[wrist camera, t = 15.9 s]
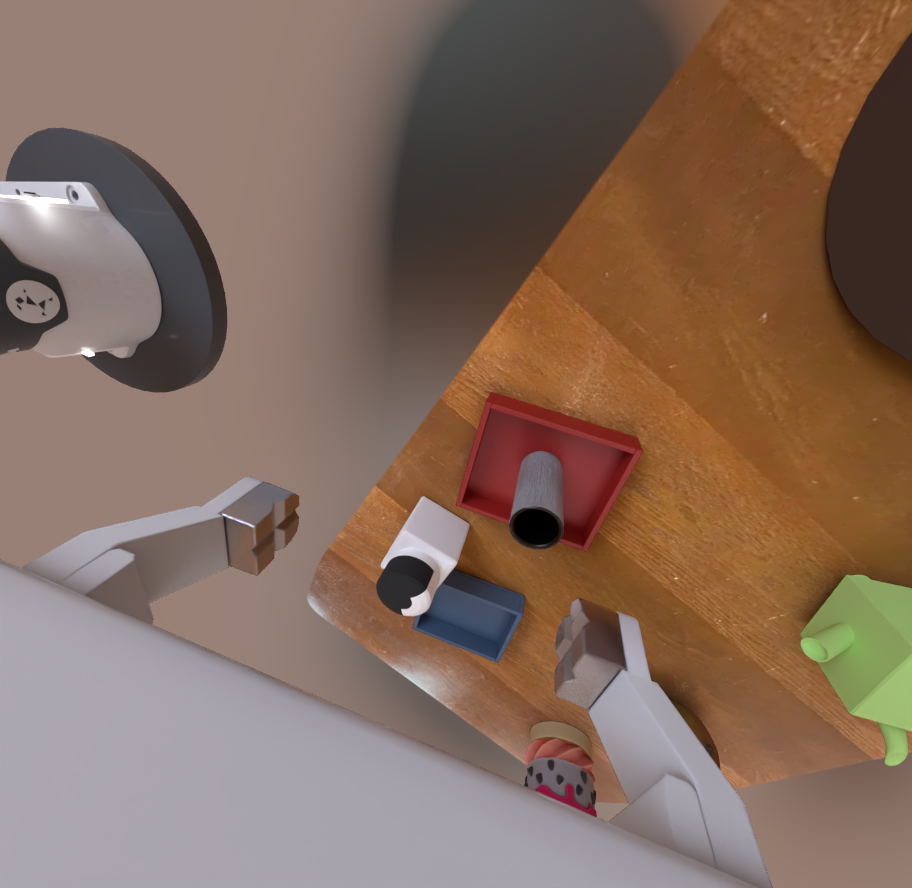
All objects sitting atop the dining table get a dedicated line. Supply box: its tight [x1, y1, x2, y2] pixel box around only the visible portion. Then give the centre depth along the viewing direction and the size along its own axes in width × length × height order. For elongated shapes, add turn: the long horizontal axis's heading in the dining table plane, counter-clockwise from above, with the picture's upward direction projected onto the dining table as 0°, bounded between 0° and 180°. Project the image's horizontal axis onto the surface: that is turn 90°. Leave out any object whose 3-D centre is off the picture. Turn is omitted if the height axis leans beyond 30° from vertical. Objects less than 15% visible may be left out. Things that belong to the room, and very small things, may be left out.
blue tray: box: [412, 569, 525, 663], centre depth 52 cm, size 13×11×3 cm
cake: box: [524, 721, 597, 817], centre depth 55 cm, size 10×11×15 cm
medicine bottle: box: [376, 496, 470, 616], centre depth 43 cm, size 7×7×12 cm
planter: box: [509, 451, 564, 549], centre depth 36 cm, size 4×4×10 cm
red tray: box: [456, 392, 643, 552], centre depth 39 cm, size 15×13×3 cm
